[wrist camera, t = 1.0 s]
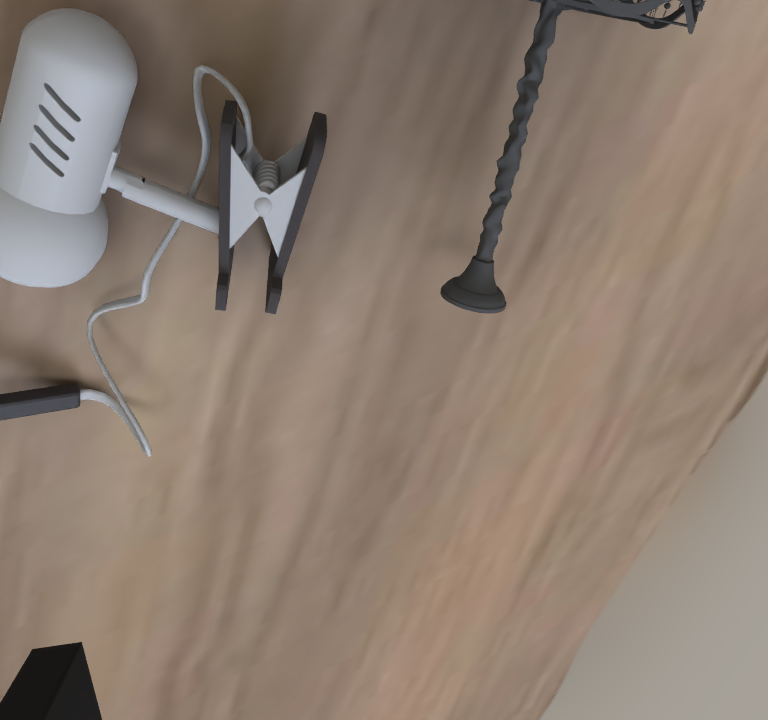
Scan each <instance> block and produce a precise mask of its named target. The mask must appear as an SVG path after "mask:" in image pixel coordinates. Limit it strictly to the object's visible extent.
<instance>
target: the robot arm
mask: <svg viewBox="0 0 768 720" xmlns="http://www.w3.org/2000/svg"><path fill="white" fill-rule="evenodd" d="M0 720H102V718H101V714H100V710H99V706H98V702H97V699H96V695H95V691H94V687H93V683H92V680H91V676H90V672H89V668H88V664H87V661H86V657H85V653H84V649H83V645H82V642H79V643H72V644H65V645H58V646H51V647H45V648H38V649H32V651H31V652H30V654H29V656H28V658H27V659H26V661H25V663H24V664H23V666H22V668H21V669H20V671H19V673H18V674H17V676H16V678H15V679H14V681H13V683H12V684H11V686H10V688H9V689H8V691H7V693H6V694H5V696H4V698H3V699H2V701H1V703H0Z"/></svg>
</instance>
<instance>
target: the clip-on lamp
mask: <svg viewBox="0 0 768 720" xmlns="http://www.w3.org/2000/svg"><path fill="white" fill-rule="evenodd" d="M205 73H209V74H212V75H213V76H215V77H216V78H217V79H219V80H220V81H221V82H222V83H223V84H224V85H225V86H226V87H227V89H228V90H229V91H230V92H231V93H232V95H233V96H234V98H235V100H236V101H237V102H236V101H230V100H226V101H225V105H224V110H223V114H222V120H221V129H220V140H219V208H217V207H214V206H212V205H209V204H207V203H204V202H202V201H199V200H197V199H194V197H195V194H196V192H197V190H198V187H199V185H200V183H201V180H202V177H203V174H204V172H205V169H206V166H207V162H208V158H209V155H210V148H211V133H210V129H209V125H208V121H207V117H206V114H205V110H204V105H203V99H202V92H201V80H202V76H203V75H204V74H205ZM137 81H138V71H137V64H136V61H135V57H134V55H133V53H132V51H131V49H130V47H129V45H128V43H127V42H126V40H125V39H124V37H123V36H122V35H121V34H120V33H119V32H118V31H117V30H116V29H115V28H114V27H113V26H112V25H111V24H110V23H108V22H107V21H106V20H104V19H102V18H101V17H99V16H97V15H95V14H92V13H90V12H87V11H83V10H80V9H73V8H63V9H55V10H50V11H48V12H46V13H44V14H42V15H40V16H38V17H36V18H35V19H33V20H32V21H31V22H29V23H28V24H27V26H26V27H25V28H24V29H23V32H22V35H21V39H20V44H19V48H18V52H17V56H16V60H15V65H14V69H13V73H12V77H11V81H10V86H9V90H8V94H7V98H6V102H5V107H4V111H3V115H2V119H1V123H0V277H2V278H4V279H6V280H9V281H11V282H13V283H16V284H20V285H25V286H32V287H52V288H54V287H59V286H65V285H70V284H73V283H74V282H76V281H78V280H80V279H82V278H84V277H85V276H86V275H87V274H88V273H90V271H91V270H92V269H93V267H94V266H95V265H96V263H97V262H98V261H99V259H100V258H101V257H102V255H103V253H104V251H105V249H106V245H107V240H108V225H109V219H108V213H107V210H106V207H105V204H104V202H103V200H102V197H101V196H102V193H104V194H105V192H106V190H107V188H108V187H110V188H113V189H115V190H118V191H120V192H123V194H122V197H124V198H127V199H129V200H132V201H134V202H137V203H139V204H142V205H145V206H147V207H150V208H152V209H155V210H157V211H160V212H162V213H165V214H168V215H170V216H173V217H175V220H174V222H173V224H172V225H171V227H170V229H169V230H168V232H167V234H166V235H165V237H164V238H163V240H162V242H161V243H160V245H159V247H158V248H157V250H156V252H155V253H154V255H153V257H152V258H151V260H150V262H149V264H148V266H147V268H146V270H145V272H144V276H143V279H142V284H141V294H140V295H136V296H132V297H128V298H124V299H120V300H116V301H113V302H110V303H107V304H104V305H102V306H100V307H99V308H97V309H96V310H94V311H93V313H92V314H91V316H90V317H89V319H88V320H87V337H88V339H89V342H90V345H91V348H92V350H93V353H94V356H95V358H96V360H97V362H98V363H99V365H100V367H101V369H102V371H103V373H104V375H105V377H106V379H107V381H108V382H109V384H110V386H111V387H112V389H113V391H114V393H115V394H116V396H117V398H118V399H119V401H120V403H121V405H122V406H123V408H124V409H123V408H122V406H121V405H120V404H119V403H118V402H117V401H115V400H114V399H113V398H112V397H110V396H109V395H108V394H106V393H104V392H100V391H96V390H92V389H84V390H80V389H79V387H78V386H77V385H76V384H74V383H72V384H66V385H59V386H53V387H51V386H50V387H46V388H39V389H33V390H26V391H19V392H13V393H6V394H0V420H6V419H12V418H18V417H24V416H30V415H36V414H42V413H48V412H54V411H60V410H65V409H71V408H77V407H79V406H80V400H86V399H92V400H95V401H99V402H103V403H106V404H107V405H108V406H109V407H111V408H112V409H113V410H114V411H116V412H117V413H118V414H119V415H120V417H121V418H122V419H123V421H124V422H125V423H126V424H127V426H128V427H129V429H130V430H131V432H132V433H133V435H134V437H135V438H136V440H137V442H138V443H139V445H140V447H141V449H142V450H143V452H144V453H145V454H146V455H147V456H148V457H150V456H151V452H152V450H151V447H150V445H149V442H148V440H147V438H146V436H145V434H144V432H143V430H142V428H141V426H140V425H139V423H138V421H137V419H136V418H135V416H134V414H133V413H132V411H131V409H130V408H129V406H128V404H127V403H126V401H125V399H124V398H123V396H122V394H121V393H120V391H119V389H118V388H117V386H116V384H115V383H114V381H113V379H112V378H111V376H110V374H109V372H108V370H107V368H106V366H105V364H104V363H103V361H102V359H101V357H100V355H99V352H98V350H97V347H96V344H95V342H94V339H93V335H92V324H93V322H94V320H95V319H96V317H97V316H99V315H100V314H102V313H104V312H106V311H110V310H114V309H119V308H125V307H130V306H134V305H138V304H140V303H142V302H143V301H145V299H146V298H147V296H148V294H149V289H150V279H151V275H152V272H153V270H154V268H155V266H156V264H157V262H158V260H159V258H160V257H161V255H162V253H163V252H164V250H165V248H166V247H167V245H168V244H169V242H170V240H171V239H172V237H173V236H174V234H175V232H176V231H177V229H178V227H179V225H180V224H181V222H182V220H183V221H185V222H188V223H190V224H193V225H196V226H198V227H201V228H203V229H206V230H208V231H211V232H213V233H216V234H218V235H219V275H218V281H217V290H216V306H215V310H223V311H226V304H227V297H228V289H229V282H230V275H231V268H232V260H233V252H234V244H235V243H236V241H237V240H238V239H239V238H240V237H241V236H242V235H243V234H244V232H245V231H246V230H247V229H248V228H249V227H250V226H251V225H252V224H253V222H254V221H255V220H256V219H257V218H258V217H259V216H261V217H263V219H264V222H265V224H266V227H267V230H268V232H269V235H270V238H271V241H272V247H271V251H270V256H269V268H268V281H267V295H266V309H265V312H267V313H272V314H276V311H277V307H278V303H279V300H280V296H281V290H282V278H283V275H284V272H285V269H286V266H287V263H288V260H289V257H290V254H291V251H292V248H293V245H294V242H295V239H296V236H297V233H298V230H299V227H300V223H301V220H302V217H303V214H304V211H305V208H306V205H307V202H308V199H309V196H310V193H311V190H312V187H313V184H314V181H315V178H316V175H317V172H318V169H319V166H320V163H321V160H322V157H323V153H324V148H325V143H326V137H327V122H326V115H325V114H322V113H318V112H315V113H314V115H313V119H312V122H311V125H310V128H309V132H308V135H307V138H305V139H304V140H303V141H301V142H300V143H298V144H297V145H296V146H294V147H293V148H292V149H290V150H289V151H288V152H286V153H285V154H283V155H282V156H281V157H279V158H278V159H277V160H275V161H274V162H272V161H268V160H264V159H263V158H262V156H261V154H260V153H259V151H258V149H257V148H256V146H255V145H254V143H253V134H252V122H251V117H250V112H249V110H248V107H247V105H246V102H245V100H244V99H243V97H242V96H241V94H240V93H239V91H238V90H237V89H236V88H235V87H234V86H233V84H232V83H231V82H230V81H228V80H227V79H226V78H225V77H224V76H223V75H221V74H220V73H218V72H216V71H215V70H213V69H212V68H210V67H207V66H204V65H202V66H198V67H197V68H196V69H195V71H194V74H193V97H194V104H195V111H196V116H197V121H198V125H199V128H200V133H201V137H202V153H201V159H200V163H199V166H198V170H197V173H196V175H195V178H194V181H193V183H192V186H191V188H190V190H189V193H188V195H185V194H182V193H180V192H177V191H175V190H172V189H170V188H167V187H165V186H162V185H160V184H157V183H155V182H152V181H150V180H148V179H146V178H143V177H141V176H138V175H136V174H133V173H131V172H129V171H127V170H124V169H122V168H119V167H117V166H115V165H116V162H117V159H118V156H119V152H120V149H121V146H122V144H121V143H119V139H120V136H121V132H122V129H123V126H124V123H125V120H126V116H127V113H128V110H129V107H130V104H131V100H132V97H133V94H134V91H135V88H136V84H137ZM237 103H238V105H239V107H240V110H241V113H242V116H243V120H244V125H245V128H244V127H243V125H242V124H241V122H240V120H239V119H238V117H237ZM125 411H126V412H125Z"/></svg>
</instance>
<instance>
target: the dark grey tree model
mask: <svg viewBox="0 0 768 720" xmlns="http://www.w3.org/2000/svg"><path fill="white" fill-rule="evenodd" d="M530 1H535V2H539V3H541V9H540V17H539V20H538V22H537V24H536V26H535V29H534V39H533V43H532V45H531V47H530V49H529V50H528V52H527V53H526V55H525V58H524V61H525V75H524V76H523V77H522V78H521V79H520V80H519V81H518V83H517V90H518V94H519V98H518V101H517V102H516V103H515V105H514V107H513V116H514V120H513V121H512V122H511V124H510V125H509V132H510V135H509V138H508V140H507V141H506V143H505V146H504V153H503V156H502V157H501V158H499V159H498V160H497V166H498V169H499V170H498V174H497V176H496V179H495V186H496V190H495V191H493V192H492V193H491V194H490V195H489V196H490V199H491V201H492V205H491V207H490V208H489V209H488V212H487V214H486V215H485V217H484V219H483V222H482V223H483V227H484V230H483V232H482V233H481V235H480V243H479V246H478V250H477V254H476V255H475V256H473V257H472V260H471V262H470V264H469V265H468V267H467V268H466V270H465V271H464V272H463V273H462V274H461V275H460V276H458V277H454V278H452V279H450V280H449V281H448V282H446V283H445V285H443V286H442V288H441V295H442V297H443V298H444V299H445V300H446V301H448V302H449V303H451V304H453V305H455V306H458V307H460V308H463V309H466V310H470V311H474V312H479V313H498V312H501V311H503V310H504V309H505V307H506V301H505V297H504V295H503V293H502V291H501V290H500V289H499V287H497V286H496V284H495V280H494V261H493V260H492V257H493V252H494V249H495V247H496V245H497V243H498V235H499V234H500V232H501V231H502V223H501V221H502V217H503V214H504V210H505V208H506V206H507V204H508V202H509V201H510V199H511V197H512V196H511V188H512V185H513V181H514V177H515V175H516V173H517V171H518V170H519V166H520V159H521V147H522V146H523V144H524V143H525V141H526V137H527V134H528V133H527V127H526V125H527V122H528V120H529V118H530V116H531V114H532V112H533V106H534V103H535V102H536V101H537V99H538V98H539V97H538V88H539V85H540V84H541V82H542V80H543V74H544V67H545V64H546V60H547V50H548V48H549V47H550V46H551V45H552V44H553V42H554V38H555V29H556V19H557V16H558V15H559V14H560V13H561V12H562V11H563V10H571V9H572V10H577V11H582V12H587V13H592V14H597V15H602V16H607V17H612V18H617V19H623V20H628V21H634V22H639V23H640V24H641V25H643V26H645V27H647V28H651V29H661V28H664V27H666V26H668V25H670V24H675V25H680V26H685V27H687V28H688V32H689V34H692V33H693V30H694V27H695V24H696V21H697V17H698V14H699V13H698V12H700V11H702V9H703V6H704V2H705V1H706V0H705V1H703V0H678V1H680V2H681V3H682V4H683V5H682V6H681V3H680V5H679V6H681V7H680V8H679V9H678V10H676V11H675V12H674V13H672V14H671V15H669V16H667V17H665V18H654V17H649V16H650V15H651V14H650V15H649V16H647V15H645V13H646V14H647V12H649V11H651V12H652V10H653V9H656V8H657V7H658V6H660V5H662V4H664V3H666V2H668V3H666V4H665V5H664V7H665V8H666V9H669V8H670V3H669V2H670V1H671V0H646V1H643V2H640V1H642V0H637V3H634V2H633V1H632V0H619V1H620V2H618V0H617V1H615V0H530ZM639 2H640V3H639ZM657 9H658V8H657ZM654 11H655V12H656V10H654ZM654 11H653V12H654ZM651 12H650V13H651ZM665 13H666V11H665ZM665 13H664V14H665ZM684 13H686V21H687V24H683V23H678V22H674V21H675V20H677V19H678V18H679V17H680V16H681V15H682V14H684ZM654 15H655V14H654ZM652 16H653V15H652ZM663 16H664V15H663Z"/></svg>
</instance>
